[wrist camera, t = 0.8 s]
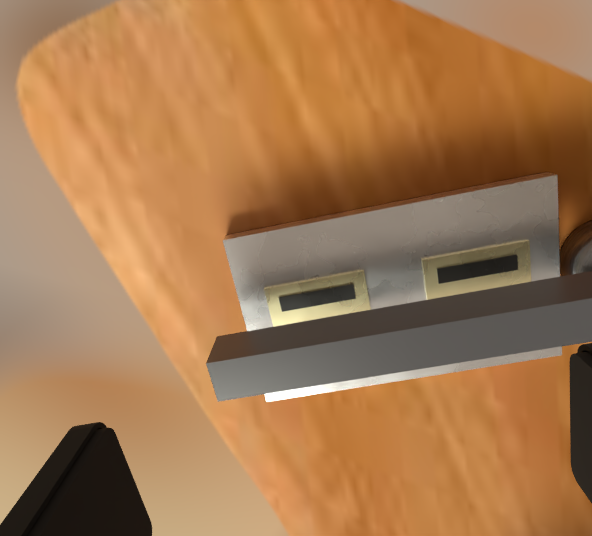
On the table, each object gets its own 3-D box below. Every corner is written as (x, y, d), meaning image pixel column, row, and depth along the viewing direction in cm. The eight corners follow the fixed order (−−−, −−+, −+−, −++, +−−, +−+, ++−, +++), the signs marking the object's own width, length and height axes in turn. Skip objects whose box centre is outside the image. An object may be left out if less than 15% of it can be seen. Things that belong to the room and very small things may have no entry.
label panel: (547, 171, 28) (560, 175, 27) (553, 345, 32) (564, 357, 30) (226, 235, 30) (221, 241, 29) (268, 391, 34) (266, 404, 32)
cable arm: (660, 243, 26) (725, 269, 22) (658, 292, 27) (719, 326, 23) (219, 322, 28) (204, 358, 24) (232, 364, 29) (219, 405, 25)
